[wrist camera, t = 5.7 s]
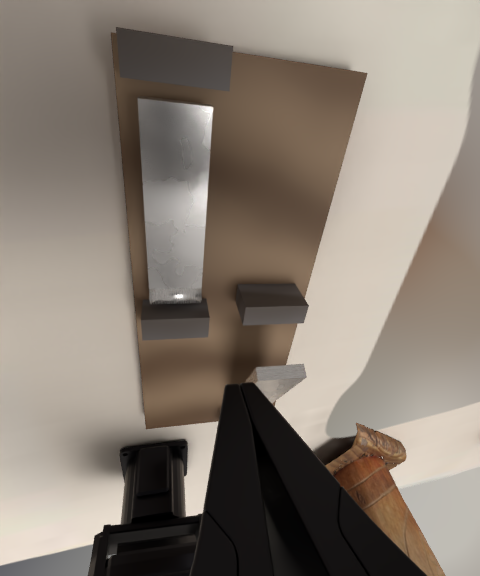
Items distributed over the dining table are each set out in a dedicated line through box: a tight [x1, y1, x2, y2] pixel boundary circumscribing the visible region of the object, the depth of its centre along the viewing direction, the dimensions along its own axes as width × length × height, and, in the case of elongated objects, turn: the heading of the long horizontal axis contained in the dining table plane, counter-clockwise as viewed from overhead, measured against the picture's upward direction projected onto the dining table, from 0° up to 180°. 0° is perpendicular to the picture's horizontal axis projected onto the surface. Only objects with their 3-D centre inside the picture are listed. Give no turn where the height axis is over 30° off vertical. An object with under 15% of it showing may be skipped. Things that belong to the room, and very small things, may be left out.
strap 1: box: [245, 364, 306, 403], centre depth 23 cm, size 11×3×1 cm, turn 173°
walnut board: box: [111, 27, 367, 429], centre depth 21 cm, size 27×12×4 cm, turn 173°
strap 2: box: [137, 96, 213, 304], centre depth 16 cm, size 11×3×1 cm, turn 173°
